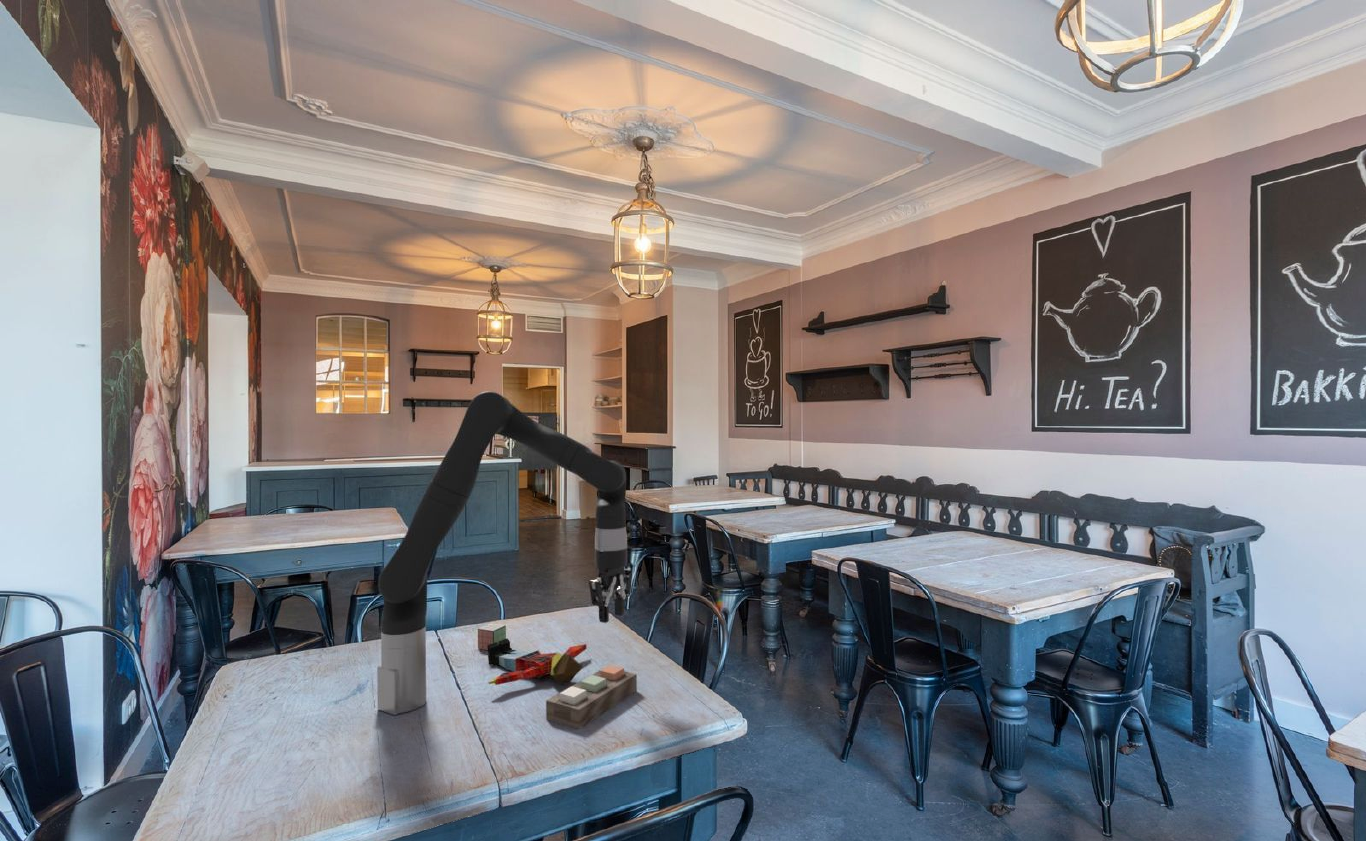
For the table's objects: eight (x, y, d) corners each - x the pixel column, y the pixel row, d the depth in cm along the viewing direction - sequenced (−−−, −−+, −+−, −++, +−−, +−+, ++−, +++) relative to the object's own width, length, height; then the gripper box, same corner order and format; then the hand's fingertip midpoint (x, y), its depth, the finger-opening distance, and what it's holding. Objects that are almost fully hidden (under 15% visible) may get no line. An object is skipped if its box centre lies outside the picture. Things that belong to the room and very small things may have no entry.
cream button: (574, 711, 132) (574, 697, 132) (559, 707, 134) (559, 693, 134) (586, 703, 136) (586, 690, 136) (572, 700, 138) (571, 686, 138)
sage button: (595, 698, 138) (594, 685, 138) (580, 694, 140) (580, 681, 140) (606, 691, 142) (606, 678, 142) (592, 688, 144) (592, 675, 144)
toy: (447, 690, 156) (524, 710, 138) (445, 659, 156) (522, 675, 138) (544, 653, 181) (620, 666, 162) (542, 626, 181) (618, 636, 163)
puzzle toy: (506, 645, 180) (506, 625, 180) (493, 651, 175) (493, 631, 175) (490, 642, 182) (490, 622, 182) (477, 649, 177) (477, 628, 177)
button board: (579, 729, 130) (578, 709, 130) (546, 719, 134) (546, 700, 134) (636, 691, 148) (636, 674, 148) (606, 683, 152) (606, 666, 152)
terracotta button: (614, 686, 144) (614, 673, 144) (600, 683, 146) (600, 670, 146) (624, 680, 148) (624, 667, 148) (610, 677, 150) (610, 664, 150)
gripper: (616, 539, 155) (617, 608, 155) (578, 550, 143) (579, 624, 143) (641, 542, 152) (642, 612, 151) (605, 553, 139) (605, 630, 139)
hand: (611, 618), depth 147 cm, fingers open, 5 cm apart
